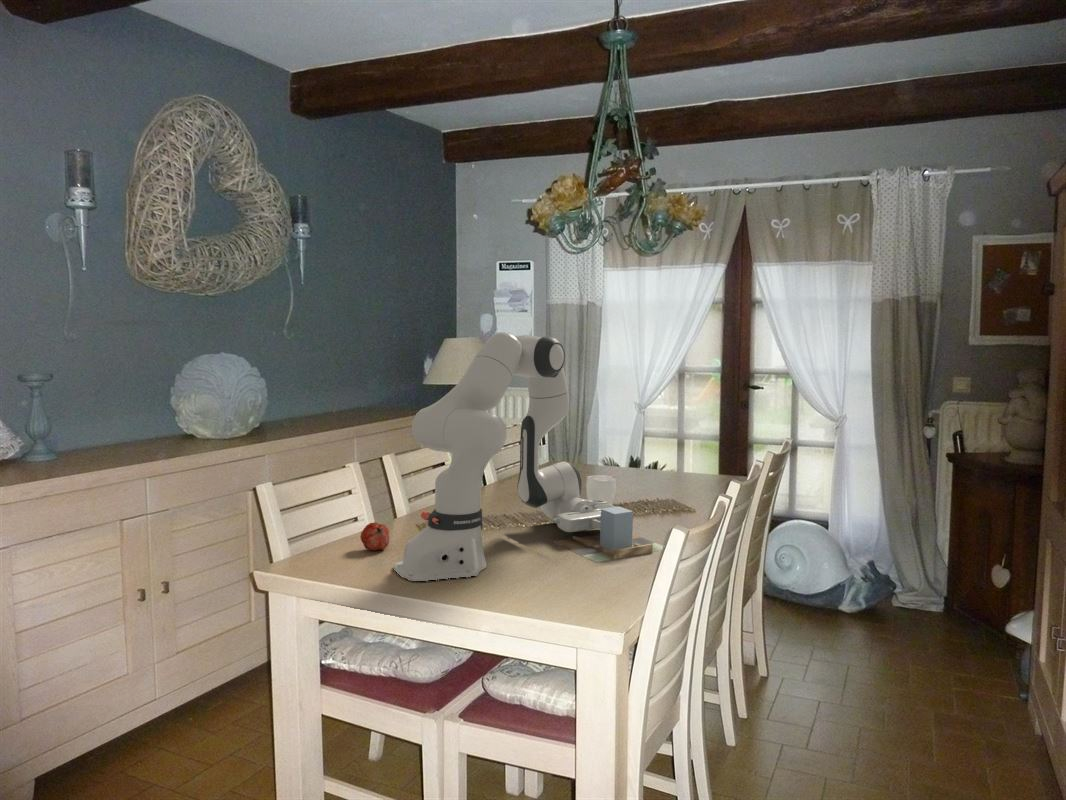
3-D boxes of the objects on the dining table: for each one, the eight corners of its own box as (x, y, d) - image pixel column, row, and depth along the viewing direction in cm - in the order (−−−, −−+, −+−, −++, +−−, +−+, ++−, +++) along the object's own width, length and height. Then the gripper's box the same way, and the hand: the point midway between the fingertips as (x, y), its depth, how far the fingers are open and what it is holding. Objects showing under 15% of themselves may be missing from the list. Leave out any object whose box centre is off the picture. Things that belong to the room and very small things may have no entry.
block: (613, 551, 203) (614, 514, 202) (599, 545, 208) (600, 508, 207) (631, 548, 206) (633, 511, 205) (618, 542, 211) (619, 506, 210)
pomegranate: (357, 557, 206) (363, 542, 198) (357, 531, 210) (363, 515, 202) (385, 557, 209) (392, 543, 201) (385, 531, 212) (392, 516, 205)
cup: (591, 520, 238) (592, 481, 237) (581, 513, 247) (582, 475, 246) (619, 518, 241) (620, 480, 239) (608, 511, 249) (609, 474, 248)
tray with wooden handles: (595, 566, 194) (595, 554, 194) (552, 545, 211) (552, 534, 211) (670, 552, 206) (670, 541, 206) (623, 533, 224) (624, 523, 223)
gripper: (548, 507, 215) (576, 519, 203) (609, 500, 226) (639, 510, 214) (548, 530, 216) (576, 543, 204) (608, 521, 226) (638, 533, 214)
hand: (609, 526), depth 209 cm, fingers closed, pressing on block
